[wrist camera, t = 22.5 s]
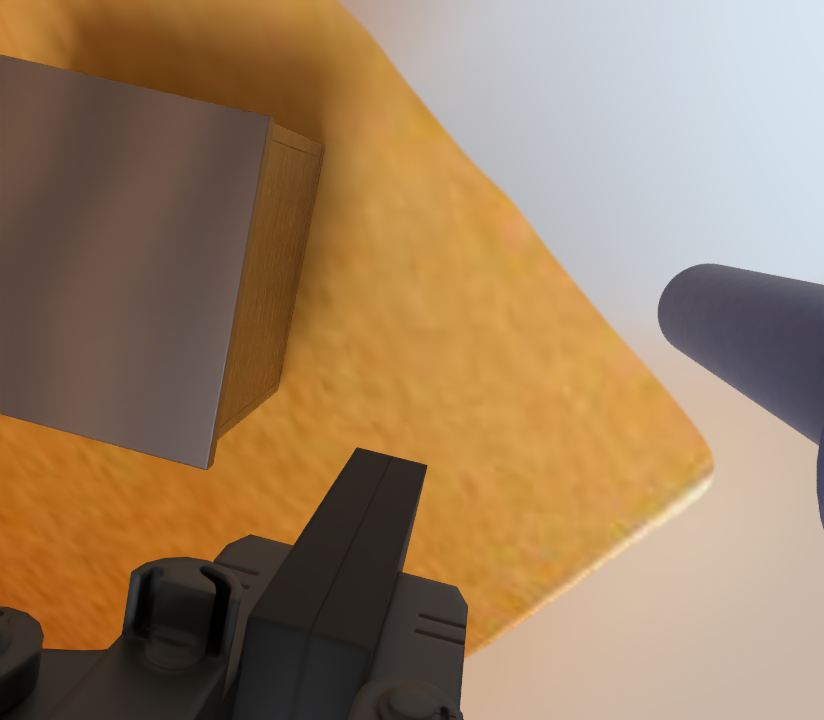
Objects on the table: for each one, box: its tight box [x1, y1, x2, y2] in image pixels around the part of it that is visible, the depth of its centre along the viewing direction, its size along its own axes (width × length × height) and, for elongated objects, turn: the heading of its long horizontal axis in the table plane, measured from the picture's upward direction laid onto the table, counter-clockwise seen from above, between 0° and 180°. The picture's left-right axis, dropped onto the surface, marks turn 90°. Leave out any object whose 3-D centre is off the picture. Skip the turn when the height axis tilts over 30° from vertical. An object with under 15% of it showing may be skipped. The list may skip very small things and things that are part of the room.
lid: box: [0, 55, 275, 470], centre depth 34 cm, size 19×17×1 cm
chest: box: [218, 123, 325, 439], centre depth 41 cm, size 18×17×14 cm
